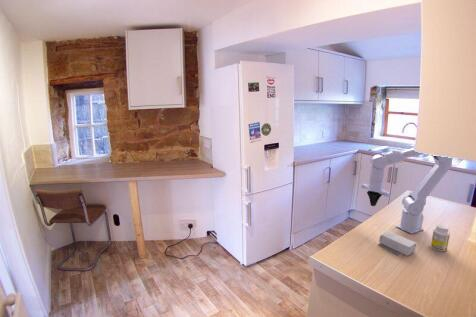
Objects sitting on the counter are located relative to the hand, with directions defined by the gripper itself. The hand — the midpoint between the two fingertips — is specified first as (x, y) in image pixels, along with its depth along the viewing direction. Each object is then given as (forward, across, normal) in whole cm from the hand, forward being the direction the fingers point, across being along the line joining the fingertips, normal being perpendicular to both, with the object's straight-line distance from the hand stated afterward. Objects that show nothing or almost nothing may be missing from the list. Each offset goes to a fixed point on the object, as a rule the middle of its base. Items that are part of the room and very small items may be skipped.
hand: (373, 205), depth 132 cm
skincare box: (+8, +13, -9) cm, 18 cm away
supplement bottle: (+11, +27, +8) cm, 30 cm away
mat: (+10, +19, -8) cm, 23 cm away
